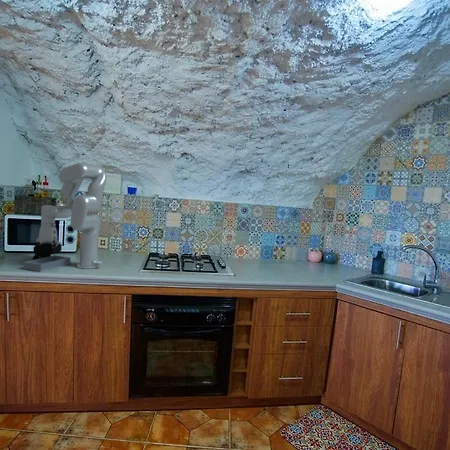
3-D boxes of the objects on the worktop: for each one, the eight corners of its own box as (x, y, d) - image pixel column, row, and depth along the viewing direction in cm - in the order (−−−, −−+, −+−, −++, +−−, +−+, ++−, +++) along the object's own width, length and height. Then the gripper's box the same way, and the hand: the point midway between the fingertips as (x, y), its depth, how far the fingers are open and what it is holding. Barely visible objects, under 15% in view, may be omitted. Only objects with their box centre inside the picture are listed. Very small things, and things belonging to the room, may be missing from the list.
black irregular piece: (28, 261, 190) (29, 244, 189) (53, 256, 208) (53, 241, 207) (37, 262, 188) (38, 246, 187) (62, 257, 206) (62, 242, 205)
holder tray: (70, 264, 191) (70, 257, 190) (40, 271, 169) (40, 264, 169) (54, 261, 193) (54, 255, 193) (23, 269, 172) (23, 262, 171)
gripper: (64, 226, 198) (63, 254, 200) (41, 223, 202) (40, 250, 204) (55, 227, 191) (54, 256, 193) (31, 224, 195) (30, 252, 197)
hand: (47, 253), depth 198 cm, fingers closed on black irregular piece, 7 cm apart
